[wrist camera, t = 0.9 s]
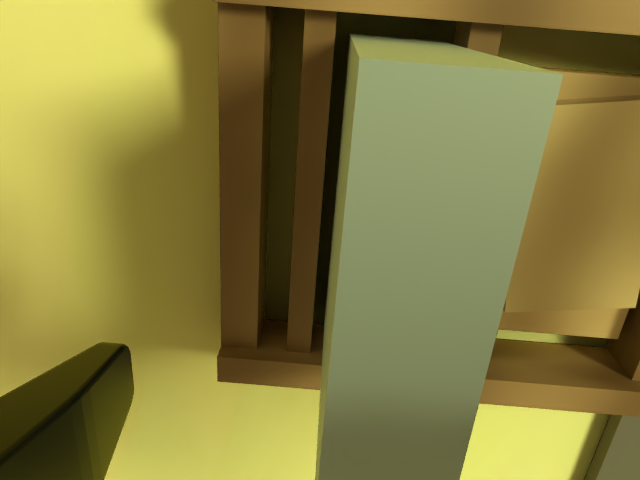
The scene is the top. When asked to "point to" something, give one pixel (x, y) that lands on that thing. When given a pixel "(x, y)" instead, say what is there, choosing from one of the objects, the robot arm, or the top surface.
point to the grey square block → (422, 249)
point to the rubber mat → (617, 451)
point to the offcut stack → (582, 214)
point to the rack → (252, 201)
